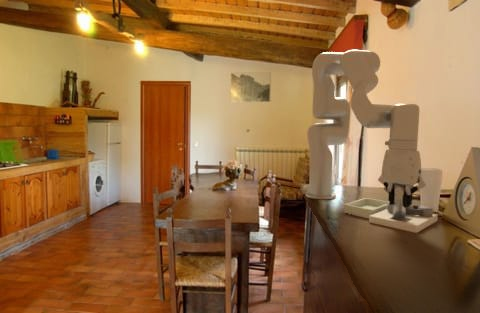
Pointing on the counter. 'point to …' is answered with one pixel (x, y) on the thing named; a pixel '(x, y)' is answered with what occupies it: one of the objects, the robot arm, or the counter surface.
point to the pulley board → (414, 218)
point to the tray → (365, 207)
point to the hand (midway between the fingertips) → (399, 204)
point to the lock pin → (399, 202)
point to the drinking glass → (431, 187)
